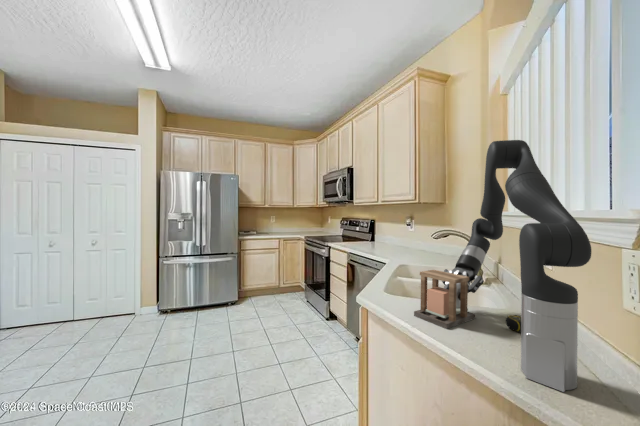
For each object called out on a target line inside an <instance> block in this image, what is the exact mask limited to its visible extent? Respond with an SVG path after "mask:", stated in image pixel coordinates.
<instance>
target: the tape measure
mask: <svg viewBox="0 0 640 426" xmlns="http://www.w3.org/2000/svg"><path fill="white" fill-rule="evenodd" d="M505 323H506V326H507V328H508V329H511V330H512V331H514V332H518V333H519V334H521V315H517V314H513V315H508V316H507V317H505Z"/></svg>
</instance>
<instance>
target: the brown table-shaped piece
mask: <svg viewBox="0 0 640 426" xmlns="http://www.w3.org/2000/svg"><path fill="white" fill-rule="evenodd" d="M419 276H420V309H418V310H414V311H413V316H414V317H416V318H418V319H421V320H424V321H426V322H428V323H431V324H433V325H436V326H439V327H441V328H444V329H446V330H448V329H450V328H453V327H456V326H459V325H461V324H465V323H466V322H469V321H472V320H475V319H476V313H474V312H471V311H469V310H468V311H467V308H468V301H469V300H468V296H469V295H468V294H469V293H468V281H469V277H467V276H462V275H457V274H452V273H447V272H444V270H443V271H442V270H437V269H430V270H429V269H428V270H423V271H419ZM428 278H430V279H432V282H431V288H435V287H439V284H440V283H439V281H441V282H442V281H446V282H449V317H447V318H443V317H440V316H437V315H435V314H432V313H429V312H426V309H427V289H428ZM456 283H461V295H460V313H459V314H456Z"/></svg>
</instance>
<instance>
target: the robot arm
mask: <svg viewBox="0 0 640 426" xmlns="http://www.w3.org/2000/svg"><path fill="white" fill-rule="evenodd" d="M484 168H485V170H484V184H483V185H484V190H483V198H482V202H481V207H480V212H479V213H480V216H481V217H482V218H477V219H475V220H473V222H472V225H471V226H472V227H471V234H470V238H469V241H468V242H467V245H466V246H465V248H464V249H463V250H462V252H461V254H460V256H459V257H458V259H457V261H456V264H455V267H454V268H453V269H452V270H448V268H445V269H443V272H447V273H452V274H457V275H462V276H467V277H469V281H468V294H469V293H472V294H475V293H476V292H477V291H478V290H479V288H481V286H482V284H484V283H485V282H484V278H483V277H482V275H478V273H479V271H480V269H481V268H482V265H483V264H484V261H485V258H486V255H487V253H488V251H489V249H490V247H491V242H490V241H489V240H493V241H496V240H499V239H500V238H501V237H502V235H503V233H504V226H503V225H504V224H503V211H504V208H505V204H506V195H507V197H508V199H509V201H510V203H511V205H512V206H513V207H514V208H515V209H517V210H518V211H519V212H521V213H522V214H524V215H525V216H528V217H530V218H531V219H533V220H535V221H537V222H530V223H526V224H524V225H523V226H522V227H521V229H520V233H519V239H518V245H519V246H518V247H519V261H520V282H521V284H520V285H521V287H520V289H521V290H520V291H521V297H520V299H521V304H520V305H521V307H520V309H521V310H520V317H521V333H520V370H521V371H522V372H523V374H524V376H525V378H526V379H527V380H530V381H533V382H536V383H538V384H540V385H544V386H546V387H550V388H553V389H555V390H557V391H560V392H563V393H565V392H566V391H570V390H575V389H576V388H578V333H579V332H578V329H579V328H578V326H579V325H578V323H579V322H578V321H579V320H578V318H579V316H578V313H579V311H578V309H579V305H578V304H579V303H578V302H579V293H578V292H579V291H578V290H577V288H576V287H574V286H573V285H571V284H568V283H566V282H563V281H560V280H557V279H556V278H553V277H551V276H550V275H548V274H546V272H545V268H544V267H546V266H547V267H558V268H559V267H561V268H562V267H563V268H576V267H577V268H579V267H583V266H585V265H587V264H588V263H589V262H590V260H591V258H592V245H591V241H590V239H589V237H588V235H587V233H586V232H585V229H584V228H583V227H582V226H581V225H580V223H579V222H578V221H577V220H576V219H575V218H574V216H573V215H572V214H571V213H570V212H569V211H568V210H567V209H566V207H564V205H563V204H562V203H561V201H560V200H559V199H558V197H557V195H556V193H555V192H554V189H553V188H552V186H551V185H550V183H549V182H548V180H547V178H546V177H545V175H544V174H543V173H542V171H541V170H540V168H539V167H538V165H537V162H536V160H535V158H534V156H533V153H532V150H531V148H530V146H529V145H528V143H527V142H526V141H525V140H521V139H508V140H504V139H503V140H493V141H492V142H491V143H489V146H488V149H487V152H486V158H485V167H484ZM498 169H513V171H512V172H511V173H510V175H509V176H508V177H507V179H506V181H505V184H504V188H505V192H506V195H505V192H504V190H503V188H502V186H501V184H500V183H499V180H498V179H497V170H498ZM441 282H442V285H444V286H443V288H444V289H448V290H449V282H446V281H442V280H441ZM460 295H461V292H460V294H459V296H458V299H459V300H460Z"/></svg>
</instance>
